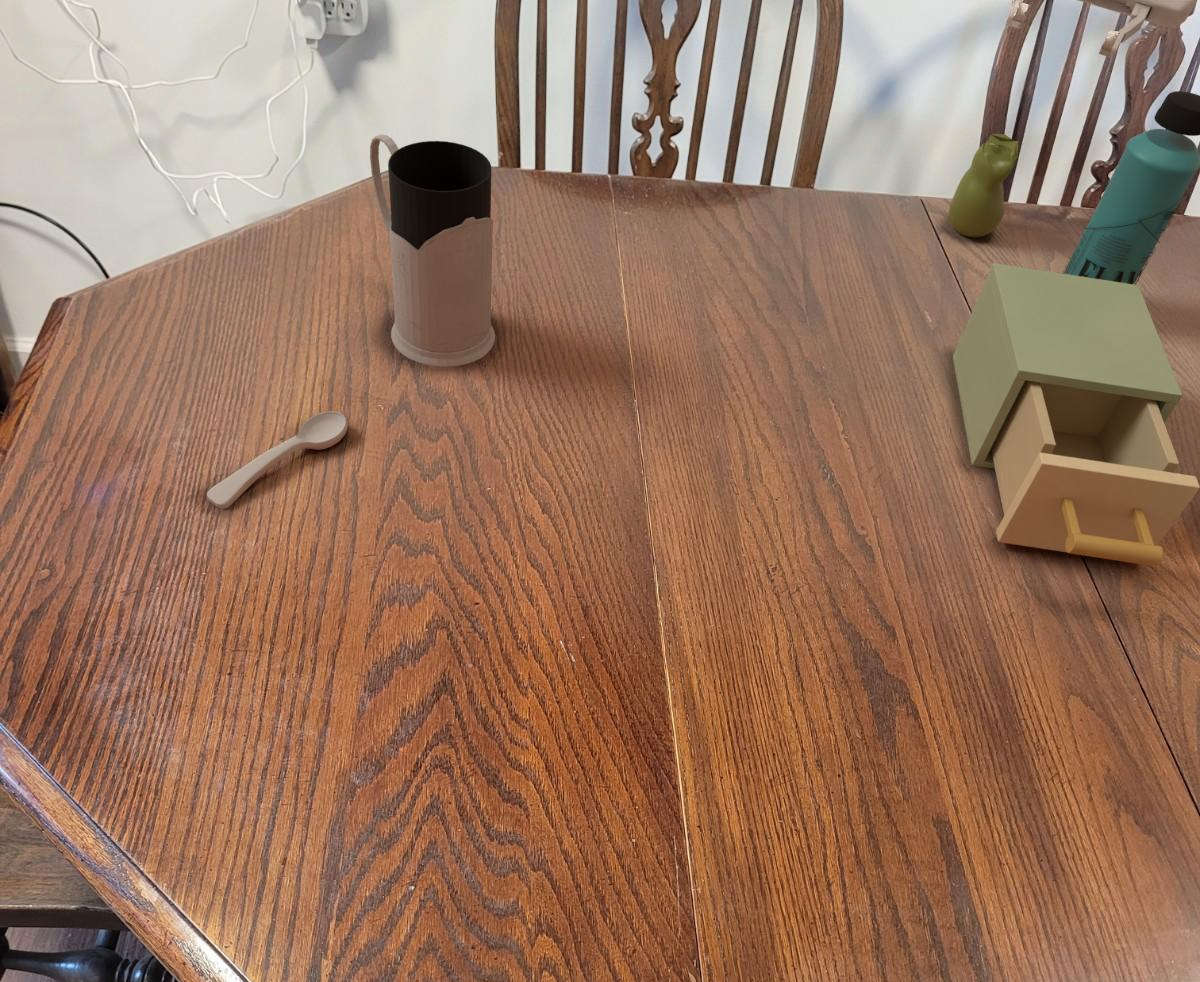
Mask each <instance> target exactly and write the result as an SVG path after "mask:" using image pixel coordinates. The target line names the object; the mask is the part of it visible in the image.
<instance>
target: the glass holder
mask: <svg viewBox="0 0 1200 982" xmlns="http://www.w3.org/2000/svg"><path fill="white" fill-rule="evenodd" d="M381 142H382V143H383V144H384V145H385V146H386V147H387V149H388V152H389V153H390V157H389V159H388V163H387V169H388V187H389V188H388V189H389V204H390V205H389V206H390V209H389V206H388V202H387V199H386V195H385V191H384V187H383V186H384V185H383V181H382V175H381V168H380V144H381ZM369 162H370V170H371V179H372V182H373V189H374V194H375V197H376V202H377V205H378V208H379V213H380V215H381V219H382V221H383V225H384V227H385V229H386V232H387V234H388V236H389V241H390V242H389V245H390V246H389V247H390V261H391V280H392V295H393V311H394V323H393V325H392V328H391V332H390V338H391V342H392V344H393V346H394V347H395V348H396V349H397V351H398V352H399V353H400V354H401V355H403V356H404V357H406V358H408V359H409V360H412V361H414V362H416V363H420V364H422V365H426V366H432V367H441V368H442V367H443V368H444V367H445V368H448V367H458V366H463V365H464V366H465V365H467V364H470V363H474V362H475V361H478V360H480V359H482V358H483V357H484V356H486V355H487V354H488V353H489V352H490V351H491V350H492V348H493V346H494V344H495V341H496V333H495V329H494V327H493V325H492V321H491V319H492V318H491V317H492V316H491V315H492V278H493V277H492V276H493V275H492V274H493V234H494V233H493V229H494V228H493V227H494V221H493V219H492V217H491V214H492V212H491V211H492V163H491V161H490V160H489V159H488V157H487V156H485V155H484V154H483V153H482V152H480V151H479V150H477V149H476V148H473V147H471V146H468V145H465V144H462V143H457V142H453V141H447V140H446V141H445V140H427V141H419V142H414V143H410V144H407V145H405V146H402V147H400V148H399V147H398V145H397V143H396V142H395V141H394V140H393V138H392V137H390V136H389V135H388V134H377V135H375V136H374V137H373V138H372V139H371V141H370V146H369Z"/></svg>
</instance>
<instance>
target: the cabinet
mask: <svg viewBox="0 0 1200 982" xmlns="http://www.w3.org/2000/svg"><path fill="white" fill-rule="evenodd" d="M952 361H953V366H954V371H955V377H956V383H957V389H958V394H959V400H960V406H961V411H962V417H963V423H964V428H965V433H966V438H967V445H968V451H969V457H970V462H971V466H974V467H980V468H986V469H987V468H988V469H993V470H995V466H994V461H993V456H992V451H991V447H992V445H993V443H994V441H995V439H996V437H997V435H998V433H999V431H1000V429H1001V427H1002V425H1003V423H1004V421H1005V419H1006V417H1007V415H1008V413H1009V411H1010V409H1011V407H1012V405H1013V404H1014V402H1015V400H1016V398H1017V396H1018V394H1019V392H1020V390H1021V388H1022V386H1023V384H1024V382H1025V380H1027V381H1034V382H1040V383H1047V384H1053V385H1060V386H1066V387H1073V388H1079V389H1086V390H1092V391H1099V392H1105V393H1112V394H1118V395H1125V396H1131V397H1138V398H1144V399H1151V400H1156V402H1157V405H1158V408H1159V410H1160V413H1161V416H1162V418H1163V421H1164V424H1165V423H1166V421H1167V420H1168V418H1169V417H1170V415H1171V414H1172V412H1173V411H1174V409H1175V408H1176V406H1177V405H1178V403H1179V402H1180V401H1181V399H1182V397H1183V393H1182V391H1181V388H1180V385H1179V383H1178V380H1177V378H1176V376H1175V373H1174V371H1173V367H1172V365H1171V363H1170V361H1169V358H1168V355H1167V353H1166V350H1165V348H1164V345H1163V343H1162V340H1161V338H1160V335H1159V332H1158V330H1157V327H1156V325H1155V323H1154V320H1153V318H1152V316H1151V313H1150V310H1149V308H1148V305H1147V303H1146V301H1145V298H1144V295H1143V293H1142V290H1141V288H1140V286H1139V284H1136V285H1135V283H1134V284H1127V283H1121V282H1114V281H1107V280H1101V279H1094V278H1088V277H1081V276H1075V275H1068V274H1063V272H1056V271H1055V272H1054V271H1047V270H1042V269H1035V268H1028V267H1022V266H1015V265H1009V264H1003V263H997V262H993V263H992V264H991V267H990V269H989V272H988V274H987V276H986V279H985V281H984V283H983V286H982V288H981V290H980V292H979V295H978V296H977V300H976V302H975V304H974V306H973V309H972V311H971V313H970V315H969V318H968V320H967V323H966V325H965V327H964V329H963V332H962V334H961V335H960V339H959V341H958V343H957V346H956V348H955V351H954V352H953V355H952Z"/></svg>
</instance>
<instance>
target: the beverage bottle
mask: <svg viewBox="0 0 1200 982" xmlns="http://www.w3.org/2000/svg"><path fill="white" fill-rule="evenodd" d="M1154 121H1155V122H1156V123H1157V125H1159V126H1160V127H1162V128H1153V129H1152V128H1151V129H1149V130H1146V131H1143V132H1141V133H1139V134H1136V135H1134V136H1133V137H1131V138H1129V139H1128V141H1127V143H1126V145H1125V149H1124V151H1123V153H1122V154H1121V157H1120V159H1119V161H1118V163H1117V165H1116V167H1115V169H1114V170H1113V173H1112V175H1111V177H1110V179H1109V181H1108V184H1107V185H1106V187H1105V189H1104V191H1103V193H1102V196H1101V197H1100V199H1099V201H1098V204H1097V206H1096V208H1095V210H1094V212H1093V214H1092V216H1091V218H1090V220H1089V222H1088V224H1087V225H1086V227H1085V228H1083V232H1082V234H1081V236H1080V237H1079V240H1078V242H1077V244H1076V246H1075V248H1074V250H1073V252H1072V254H1071V256H1069V257H1068V260H1067V261H1066V264H1065V266H1064V269H1062V271H1061V273H1062V274H1068V275H1075V276H1081V277H1088V278H1094V279H1101V280H1107V281H1114V282H1121V283H1127V284H1134V285H1137V283H1138V281H1139V280H1140V279H1141V276H1142V274H1143V272H1144V271H1145V269H1146V267H1147V265H1148V263H1149V261H1150V258H1151V257H1152V256H1153V255H1154V253H1155V251H1156V247H1157V246H1156V245H1157V244H1158V243H1160V241H1159V240H1160V238H1162V237H1161V236H1163V234H1164V233H1165V231H1166V230H1167V227H1169V226H1170V225H1171V222H1172V220H1173V219H1174V217H1175V215H1176V213H1177V211H1178V210H1179V208H1180V206H1181V201H1182V199H1183V198H1184V197H1185V196H1186V195H1187V193H1188V192H1186V191H1187V189H1188V187H1189V185H1190V183H1191V182H1192V180H1193V178H1194V176H1195V175H1196V173H1197V172H1198V171H1199V169H1200V151H1199V149H1198V147H1197V145H1196V143H1195V142H1194V141H1193V140H1192V139H1191V138H1189V137H1197V136H1200V95H1199V94H1197V93H1193V92H1189V91H1181V90H1175V91H1171V92H1169V93H1168V94H1166V97H1165V98H1164V100H1163V101H1162V104H1161V105H1160V107H1159V108H1158V109H1157V111H1156V113H1155V114H1154ZM1188 136H1189V137H1188Z"/></svg>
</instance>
